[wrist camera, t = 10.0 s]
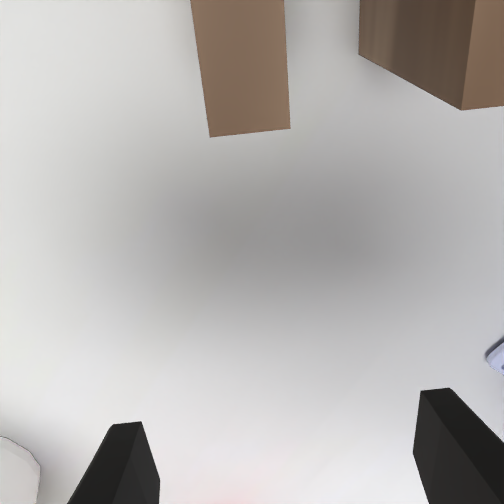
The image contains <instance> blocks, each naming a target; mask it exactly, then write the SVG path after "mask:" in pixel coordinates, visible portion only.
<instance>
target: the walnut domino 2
mask: <svg viewBox="0 0 504 504" xmlns="http://www.w3.org/2000/svg"><path fill="white" fill-rule="evenodd" d="M359 55H361V56H363V57H364V58H366V59H368V60H370V61H372V62H374V63H375V64H377V65H379V66H381V67H383V68H385V69H386V70H388V71H390V72H392V73H394V74H395V75H397V76H399V77H401V78H403V79H405V80H406V81H408V82H410V83H412V84H414V85H415V86H417V87H419V88H421V89H423V90H425V91H426V92H428V93H430V94H432V95H434V96H436V97H437V98H439V99H441V100H443V101H445V102H446V103H448V104H450V105H452V106H454V107H456V108H457V109H459V110H470V109H479V108H488V107H497V106H504V0H360V15H359Z"/></svg>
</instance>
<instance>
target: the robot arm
mask: <svg viewBox="0 0 504 504" xmlns="http://www.w3.org/2000/svg"><path fill="white" fill-rule="evenodd" d="M487 362H488V364H489V365H490V367H491V368H493V369H494V370H496V371H498V372H500V373H501V374H503V375H504V342H503V343H502V344H501V345H500V346H498V347H497V348H496V349H495V350H494V351H492V352H491V353H490V354H489V355H488V357H487ZM413 455H414V458H415V461H416V465H417V468H418V471H419V474H420V478H421V481H422V484H423V487H424V490H425V493H426V496H427V499H428V502H429V504H504V442H503V441H502V440H501V439H500V438H499V437H498V436H497V435H496V434H495V433H494V432H493V431H492V430H491V429H490V428H489V427H488V426H487V425H486V424H485V423H484V422H483V421H482V420H481V419H480V418H479V417H478V416H477V415H476V414H475V413H474V412H473V411H472V410H471V409H470V408H469V407H468V406H467V405H466V404H465V403H464V401H463V400H462V399H461V398H460V397H459V396H458V395H457V394H456V393H455V392H454V391H453V390H452V389H450V388H442V389H433V390H423V391H421V392H420V400H419V408H418V416H417V423H416V431H415V439H414V447H413ZM159 493H160V478H159V475H158V472H157V469H156V466H155V462H154V459H153V456H152V453H151V450H150V447H149V444H148V440H147V437H146V434H145V431H144V428H143V425H142V422H141V421H140V422H131V423H122V424H113V425H112V426H111V427H110V428H109V430H108V432H107V434H106V435H105V437H104V439H103V441H102V443H101V445H100V447H99V449H98V450H97V452H96V454H95V456H94V458H93V460H92V461H91V463H90V465H89V467H88V469H87V470H86V472H85V474H84V476H83V477H82V479H81V481H80V483H79V484H78V486H77V488H76V490H75V491H74V493H73V495H72V496H71V498H70V500H69V501H68V503H67V504H159Z"/></svg>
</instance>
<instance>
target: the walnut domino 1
mask: <svg viewBox="0 0 504 504" xmlns="http://www.w3.org/2000/svg"><path fill="white" fill-rule="evenodd" d="M190 1H191V8H192V15H193V22H194V29H195V36H196V43H197V50H198V57H199V64H200V71H201V78H202V85H203V92H204V99H205V106H206V113H207V120H208V128H209V135H210V137H218V136H227V135H236V134H245V133H255V132H264V131H273V130H282V129H290V110H289V91H288V72H287V53H286V34H285V14H284V0H190Z"/></svg>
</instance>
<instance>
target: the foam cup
mask: <svg viewBox="0 0 504 504" xmlns="http://www.w3.org/2000/svg"><path fill="white" fill-rule="evenodd" d="M39 483H40V466H39V464H38V463H37V462H36V460H35V459H34V457H33V456H32V454H31V453H30V452H29V451H28V450H26V449H24V448H23V447H21V446H19V445H18V444H16V443H14V442H13V441H11V440H9V439H7V438H3V437H0V504H36V499H37V494H38V486H39Z"/></svg>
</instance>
